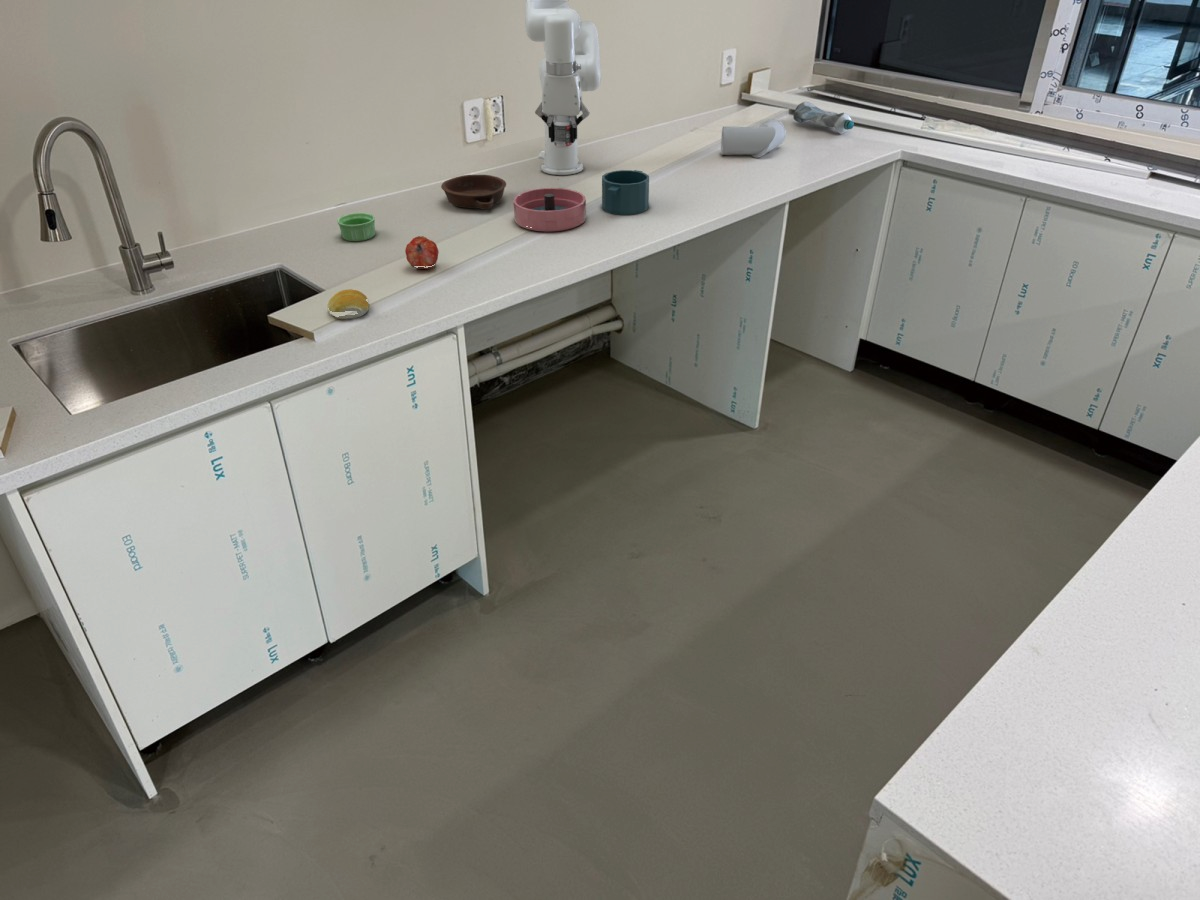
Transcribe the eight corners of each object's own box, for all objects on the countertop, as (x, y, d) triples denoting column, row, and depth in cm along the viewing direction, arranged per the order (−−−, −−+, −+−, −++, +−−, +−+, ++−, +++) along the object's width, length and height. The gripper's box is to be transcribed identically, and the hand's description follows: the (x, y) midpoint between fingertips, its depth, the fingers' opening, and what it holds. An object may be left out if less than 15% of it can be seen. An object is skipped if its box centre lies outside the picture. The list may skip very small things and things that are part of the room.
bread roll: (367, 299, 179) (364, 281, 177) (371, 317, 172) (368, 299, 170) (327, 304, 177) (323, 286, 175) (329, 322, 170) (325, 304, 168)
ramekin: (343, 230, 213) (340, 213, 211) (379, 228, 214) (376, 211, 211) (337, 243, 206) (334, 225, 203) (374, 241, 207) (372, 224, 204)
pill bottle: (569, 149, 225) (569, 116, 220) (552, 148, 225) (551, 115, 220) (573, 143, 228) (573, 111, 223) (556, 142, 229) (555, 110, 224)
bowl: (500, 222, 217) (498, 201, 214) (548, 203, 229) (547, 183, 226) (552, 238, 207) (551, 216, 204) (600, 218, 219) (600, 197, 216)
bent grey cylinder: (765, 160, 255) (791, 145, 269) (761, 124, 250) (788, 110, 264) (713, 165, 265) (740, 150, 279) (709, 130, 260) (736, 116, 274)
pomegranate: (410, 271, 197) (395, 260, 187) (417, 241, 197) (402, 228, 187) (440, 277, 196) (426, 266, 186) (447, 246, 196) (434, 233, 186)
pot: (590, 214, 221) (589, 184, 217) (617, 194, 235) (617, 165, 230) (633, 220, 217) (634, 190, 213) (658, 200, 230) (659, 170, 226)
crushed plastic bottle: (785, 122, 297) (832, 137, 278) (789, 101, 293) (837, 114, 275) (814, 121, 302) (862, 136, 284) (818, 100, 299) (867, 113, 280)
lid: (515, 223, 215) (513, 199, 212) (539, 207, 225) (538, 184, 222) (561, 230, 210) (560, 206, 207) (584, 213, 220) (584, 190, 217)
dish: (454, 219, 219) (452, 200, 217) (434, 194, 236) (432, 176, 233) (518, 209, 225) (517, 191, 222) (494, 186, 242) (492, 168, 239)
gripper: (596, 66, 217) (596, 138, 228) (531, 64, 220) (535, 135, 230) (590, 73, 211) (591, 146, 222) (525, 70, 214) (529, 144, 224)
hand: (563, 140), depth 226 cm, fingers closed on pill bottle, 4 cm apart
